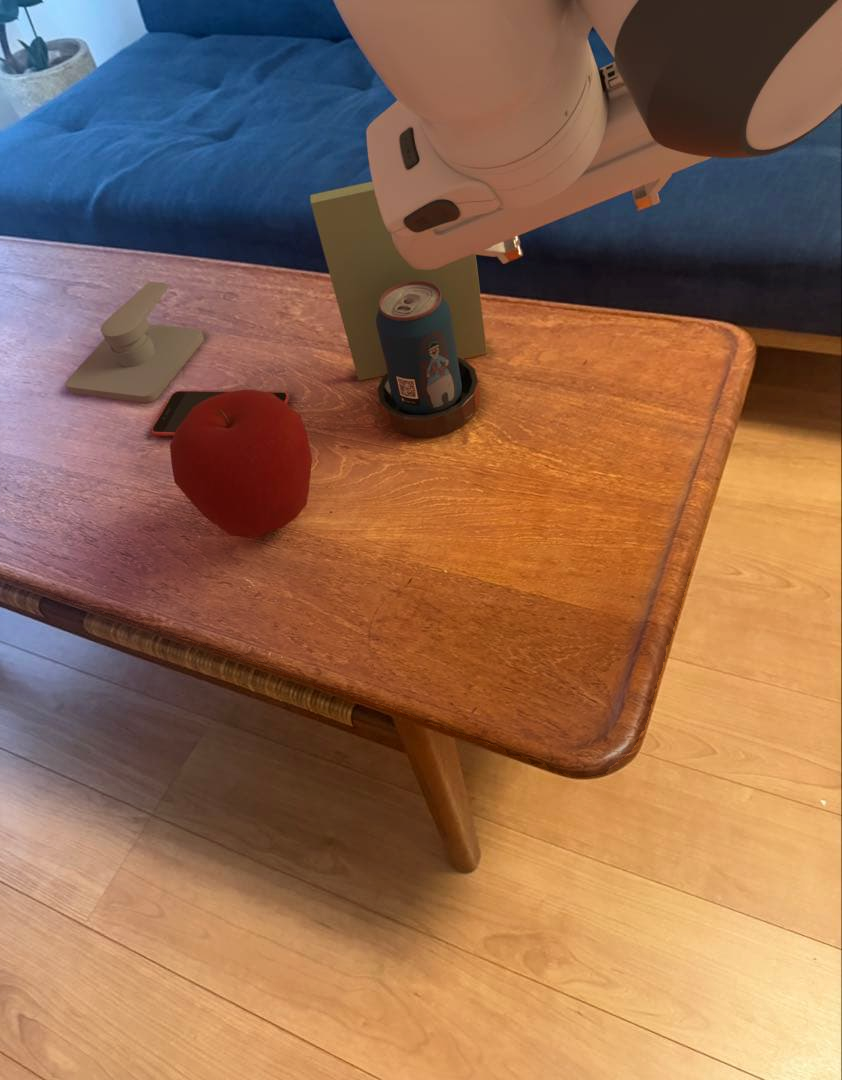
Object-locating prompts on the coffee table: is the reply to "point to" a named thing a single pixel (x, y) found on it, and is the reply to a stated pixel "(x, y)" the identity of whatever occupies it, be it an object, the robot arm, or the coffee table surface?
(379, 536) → the coffee table surface
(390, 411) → the holder
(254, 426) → the apple
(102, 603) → the coffee table surface
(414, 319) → the soda can
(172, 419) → the smartphone
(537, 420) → the coffee table surface
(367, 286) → the olive green plank
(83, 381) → the shower valve
